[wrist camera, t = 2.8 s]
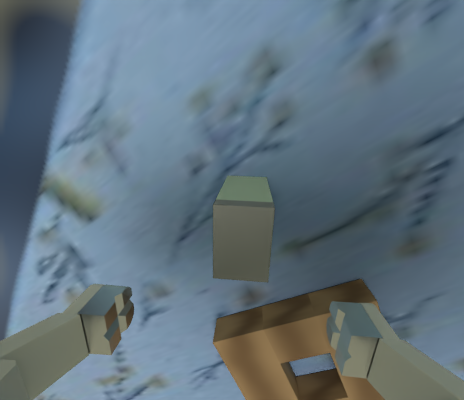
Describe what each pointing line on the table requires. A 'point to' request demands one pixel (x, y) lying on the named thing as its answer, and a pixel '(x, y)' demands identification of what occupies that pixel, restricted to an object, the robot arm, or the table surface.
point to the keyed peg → (243, 229)
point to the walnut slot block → (290, 347)
